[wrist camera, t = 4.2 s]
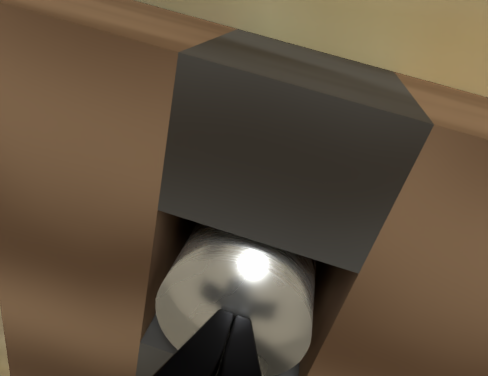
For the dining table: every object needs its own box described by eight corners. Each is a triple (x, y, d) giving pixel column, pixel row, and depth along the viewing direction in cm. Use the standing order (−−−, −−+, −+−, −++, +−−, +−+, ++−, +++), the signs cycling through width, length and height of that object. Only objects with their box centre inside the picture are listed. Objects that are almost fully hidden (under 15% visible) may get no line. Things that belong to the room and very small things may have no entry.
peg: (299, 276, 15) (285, 396, 10) (202, 245, 15) (148, 349, 11) (334, 189, 13) (335, 292, 8) (221, 155, 13) (165, 237, 9)
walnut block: (302, 493, 22) (295, 613, 18) (85, 414, 23) (29, 510, 19) (554, 115, 11) (705, 201, 6) (96, -10, 12) (-44, -11, 7)
